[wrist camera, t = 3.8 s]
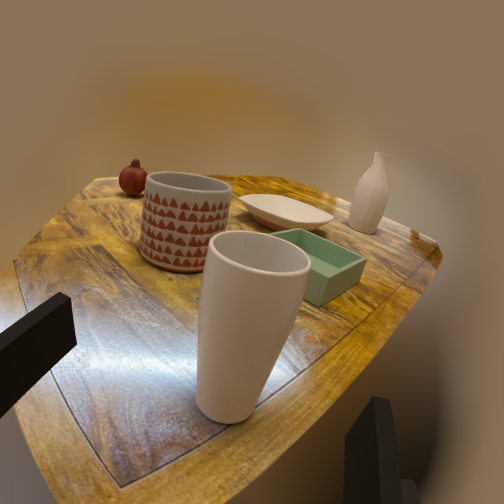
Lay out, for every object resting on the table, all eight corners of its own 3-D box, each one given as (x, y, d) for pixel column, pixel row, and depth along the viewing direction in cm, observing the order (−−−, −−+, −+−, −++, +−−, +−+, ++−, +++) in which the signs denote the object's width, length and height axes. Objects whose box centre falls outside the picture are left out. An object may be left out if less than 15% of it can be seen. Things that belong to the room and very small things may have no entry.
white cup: (275, 421, 24) (335, 272, 19) (202, 441, 21) (234, 278, 15) (241, 371, 29) (278, 230, 24) (176, 382, 26) (193, 228, 21)
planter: (222, 278, 47) (238, 196, 42) (132, 268, 44) (138, 183, 39) (217, 243, 59) (229, 178, 54) (146, 235, 56) (153, 168, 51)
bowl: (276, 210, 94) (280, 193, 92) (338, 236, 81) (343, 218, 79) (224, 215, 78) (227, 194, 76) (293, 248, 65) (299, 225, 63)
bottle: (338, 222, 97) (358, 145, 88) (359, 223, 103) (378, 153, 94) (362, 235, 89) (386, 153, 79) (383, 236, 95) (405, 161, 85)
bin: (358, 282, 56) (367, 258, 54) (318, 307, 45) (329, 277, 43) (294, 249, 65) (300, 227, 63) (243, 263, 53) (248, 236, 52)
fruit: (124, 190, 82) (128, 156, 78) (150, 194, 82) (154, 159, 79) (112, 196, 74) (115, 159, 71) (139, 201, 75) (144, 163, 71)
